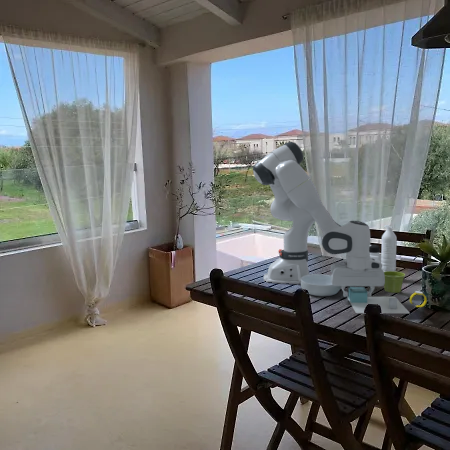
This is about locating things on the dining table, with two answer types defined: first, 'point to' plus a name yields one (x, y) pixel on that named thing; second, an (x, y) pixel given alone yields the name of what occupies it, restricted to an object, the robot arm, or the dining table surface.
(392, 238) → the water bottle
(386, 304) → the post base
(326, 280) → the cereal bowl
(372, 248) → the medicine bottle
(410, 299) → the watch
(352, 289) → the teal square box
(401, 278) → the plant pot
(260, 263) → the dining table surface
